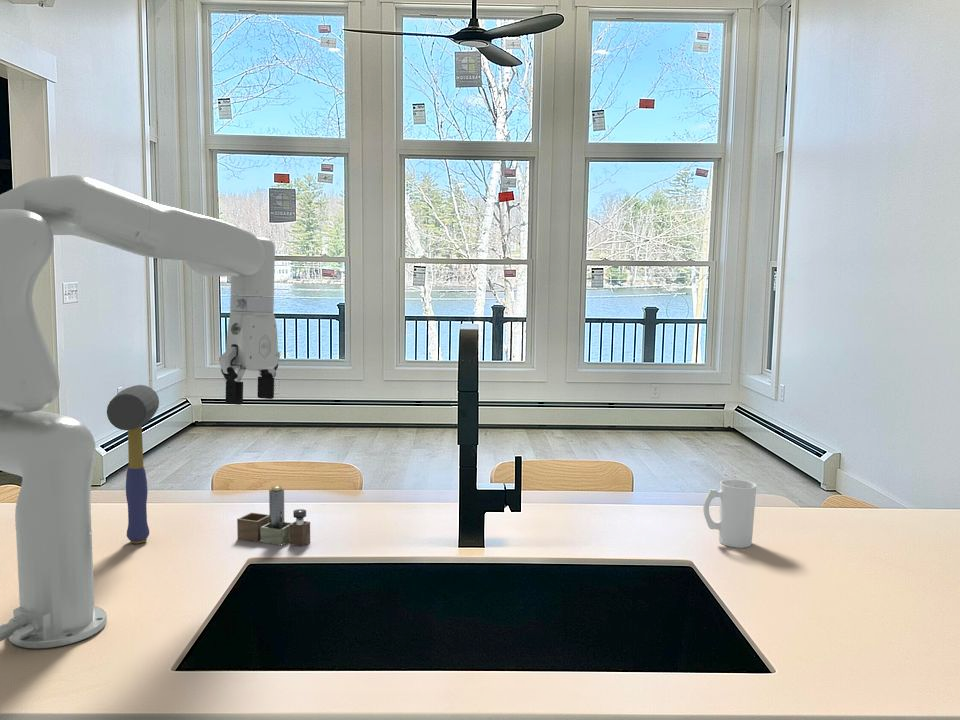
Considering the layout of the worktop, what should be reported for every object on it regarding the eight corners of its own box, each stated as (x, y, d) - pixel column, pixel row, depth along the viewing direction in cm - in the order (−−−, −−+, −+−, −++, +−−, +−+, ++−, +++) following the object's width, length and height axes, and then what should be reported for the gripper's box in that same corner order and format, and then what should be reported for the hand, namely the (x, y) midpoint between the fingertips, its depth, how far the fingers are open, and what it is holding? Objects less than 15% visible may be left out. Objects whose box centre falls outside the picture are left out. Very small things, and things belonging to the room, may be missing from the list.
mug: (745, 537, 161) (748, 479, 160) (758, 548, 155) (761, 488, 153) (696, 537, 161) (699, 479, 160) (707, 548, 154) (710, 488, 153)
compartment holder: (300, 548, 151) (300, 527, 150) (237, 539, 155) (237, 519, 155) (312, 540, 155) (312, 520, 155) (251, 531, 159) (251, 512, 159)
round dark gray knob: (302, 544, 152) (302, 513, 151) (291, 542, 153) (291, 512, 152) (308, 540, 154) (308, 510, 153) (297, 538, 155) (297, 508, 154)
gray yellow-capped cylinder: (279, 543, 153) (278, 489, 152) (266, 541, 154) (266, 488, 153) (287, 538, 156) (286, 486, 155) (275, 537, 157) (274, 484, 155)
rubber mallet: (151, 552, 147) (147, 392, 144) (108, 554, 146) (102, 392, 142) (165, 530, 159) (161, 382, 156) (125, 532, 158) (120, 382, 155)
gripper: (241, 307, 134) (239, 408, 135) (295, 307, 150) (293, 397, 151) (203, 305, 136) (202, 404, 137) (261, 306, 152) (259, 394, 154)
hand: (250, 401), depth 144 cm, fingers open, 9 cm apart
